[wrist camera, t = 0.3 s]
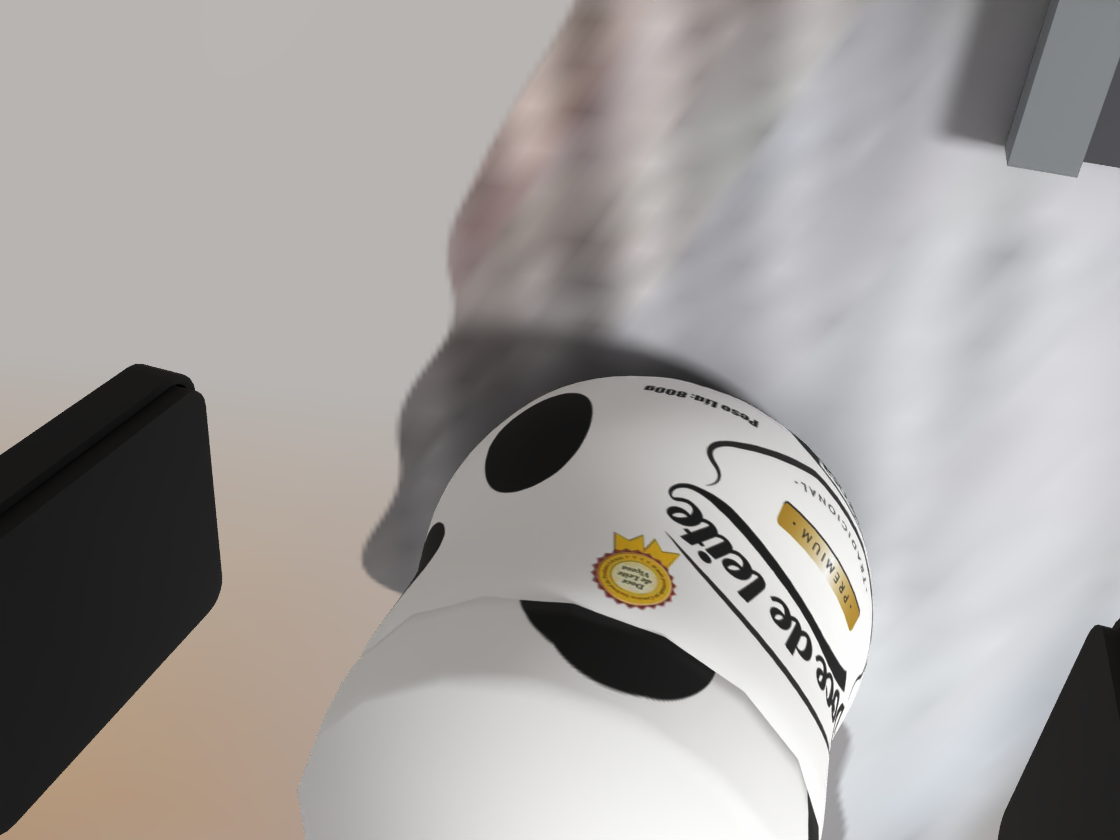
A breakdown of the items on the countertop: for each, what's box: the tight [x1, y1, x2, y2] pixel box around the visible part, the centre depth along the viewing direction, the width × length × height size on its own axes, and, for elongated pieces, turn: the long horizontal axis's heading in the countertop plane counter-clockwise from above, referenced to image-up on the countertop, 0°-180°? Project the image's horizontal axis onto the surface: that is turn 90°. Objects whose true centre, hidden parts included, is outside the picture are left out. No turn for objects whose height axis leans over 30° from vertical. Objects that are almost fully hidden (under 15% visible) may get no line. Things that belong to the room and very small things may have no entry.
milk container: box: [297, 376, 874, 840], centre depth 38 cm, size 17×17×18 cm
